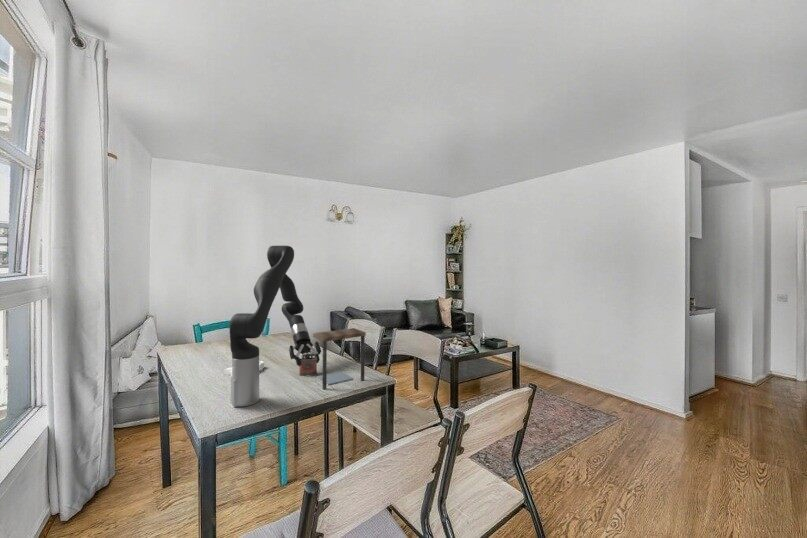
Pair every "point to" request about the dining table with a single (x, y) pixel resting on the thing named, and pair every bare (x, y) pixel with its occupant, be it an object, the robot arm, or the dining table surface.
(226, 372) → the white brass knuckles
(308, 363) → the lighter
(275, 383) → the dining table surface
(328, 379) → the pad
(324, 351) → the miniature side table
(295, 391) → the dining table surface
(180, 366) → the dining table surface
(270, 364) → the dining table surface
